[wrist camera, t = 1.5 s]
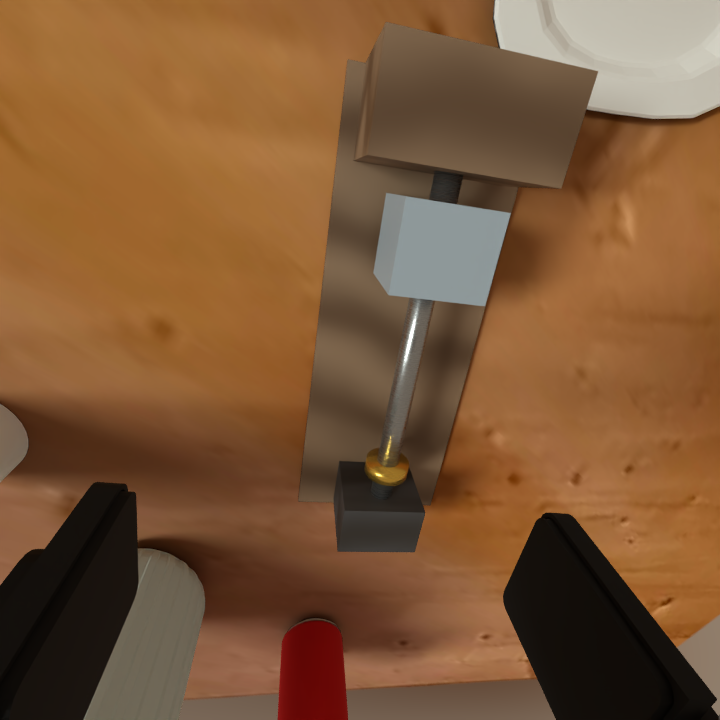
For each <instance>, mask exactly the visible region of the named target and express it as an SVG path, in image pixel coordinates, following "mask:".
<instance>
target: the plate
mask: <svg viewBox="0 0 720 720" xmlns="http://www.w3.org/2000/svg"><path fill="white" fill-rule="evenodd" d="M493 22H494V27H495V32H496V37H497V42H498V46H499V48H500V49H505V50H509V51H513V52H518V53H522V54H526V55H531V56H535V57H539V58H544V59H548V60H552V61H556V62H561V63H565V64H569V65H574V66H578V67H582V68H587V69H591V70H595V71H598V74H597V77H596V81H595V84H594V87H593V90H592V93H591V96H590V100H589V103H588V106H587V109H586V110H591V111H597V112H603V113H609V114H617V115H625V116H632V117H640V118H648V119H674V118H694V117H697V116H699V115H701V114H703V113H705V112H708V111H710V110H712V109H714V108H717V107H719V106H720V0H494V11H493Z"/></svg>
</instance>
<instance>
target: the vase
mask: <svg viewBox="0 0 720 720" xmlns="http://www.w3.org/2000/svg"><path fill="white" fill-rule="evenodd" d="M138 575H139V583H138V589H137V593H136V596H135V599H134V602H133V604H132V607H131V609H130V611H129V614H128V616H127V618H126V621H125V623H124V625H123V628H122V630H121V633H120V635H119V637H118V640H117V642H116V644H115V647H114V649H113V651H112V654H111V656H110V658H109V661H108V663H107V666H106V668H105V670H104V673H103V675H102V677H101V680H100V682H99V684H98V687H97V689H96V691H95V694H94V696H93V699H92V701H91V703H90V706H89V708H88V710H87V713H86V715H85V717H84V720H179V716H180V711H181V707H182V703H183V699H184V695H185V691H186V686H187V682H188V678H189V674H190V670H191V665H192V661H193V657H194V653H195V649H196V644H197V640H198V636H199V632H200V628H201V623H202V619H203V615H204V611H205V596H204V589H203V585H202V583H201V582H200V580H199V579H198V576H197V574H196V573H195V572H194V570H192V569H191V568H189V567H188V565H187V564H186V563H185V562H183V561H182V560H179V559H178V558H177V557H175V556H173V555H171V554H169V553H166V552H163V551H160V550H155V549H147V548H139V549H138Z"/></svg>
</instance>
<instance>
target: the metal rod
mask: <svg viewBox="0 0 720 720" xmlns="http://www.w3.org/2000/svg"><path fill="white" fill-rule="evenodd" d="M462 180H463V175H461V174H456V173H450V172H443V171H435V172H434V177H433V182H432V187H431V192H430V197H429V200H433V201H439V202H445V203H451V204H457V202H458V198H459V193H460V189H461V184H462ZM434 304H435V300H426V299H417V298H409V302H408V307H407V312H406V317H405V322H404V327H403V332H402V337H401V342H400V347H399V352H398V357H397V362H396V367H395V372H394V377H393V382H392V387H391V392H390V397H389V402H388V407H387V412H386V417H385V422H384V427H383V432H382V437H381V442H380V447H379V448H375V449H372V450H371V451H369V453H368V454H367V457H366V463H365V473H366V475H367V476H368V477H369V478H370V479H371V480H372V481H373V482H372V487H371V493H372V495H373V496H374V497H375V498H377V499H380V500H386V499H389V498H390V497H391V494H392V490H393V486H396V485H400V484H402V483H403V482H404V481H405V480H406V477H407V473H408V469H409V461H408V459H407V458H406V456H404V455H403V454H402V453H401V450H402V446H403V441H404V437H405V432H406V428H407V423H408V419H409V415H410V410H411V406H412V401H413V397H414V392H415V388H416V384H417V379H418V375H419V370H420V366H421V361H422V357H423V353H424V348H425V344H426V339H427V335H428V330H429V326H430V322H431V317H432V313H433V308H434Z"/></svg>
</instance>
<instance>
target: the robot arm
mask: <svg viewBox="0 0 720 720" xmlns="http://www.w3.org/2000/svg"><path fill="white" fill-rule="evenodd" d="M138 583H139V575H138V541H137V508H136V493H135V492H128V488H127V485H126V484H118V483H103V482H95V483H93V484H92V485H91V487H90V488H89V489H88V490H87V492H86V493H85V495H84V496H83V497H82V499H81V500H80V501H79V503H78V504H77V506H76V507H75V508H74V510H73V511H72V512H71V514H70V515H69V517H68V518H67V519H66V521H65V522H64V523H63V525H62V526H61V528H60V529H59V530H58V532H57V533H56V534H55V536H54V537H53V539H52V540H51V541H50V543H49V544H48V545H47V547H46V548H45V549H34V550H31V551H30V552H28V553H27V554H25V555H24V557H23V558H22V559H21V560H20V561H19V562H18V563H17V565H16V566H15V567H14V568H13V570H12V571H11V572H10V574H9V575H8V576H7V577H6V579H5V580H4V581H3V583H2V584H1V585H0V720H84V717H85V715H86V713H87V710H88V708H89V706H90V703H91V701H92V699H93V696H94V694H95V691H96V689H97V687H98V684H99V682H100V680H101V677H102V675H103V673H104V670H105V668H106V666H107V663H108V661H109V658H110V656H111V654H112V651H113V649H114V647H115V644H116V642H117V640H118V637H119V635H120V633H121V630H122V628H123V625H124V623H125V621H126V618H127V616H128V614H129V611H130V609H131V607H132V604H133V602H134V599H135V596H136V593H137V589H138ZM503 601H504V606H505V609H506V611H507V613H508V615H509V618H510V620H511V622H512V624H513V626H514V629H515V631H516V633H517V635H518V637H519V640H520V642H521V644H522V646H523V648H524V650H525V653H526V655H527V657H528V659H529V661H530V664H531V666H532V668H533V670H534V672H535V675H536V677H537V679H538V681H539V683H540V685H541V687H542V690H543V692H544V694H545V696H546V699H547V701H548V703H549V705H550V707H551V709H552V712H553V714H554V716H555V718H556V720H720V715H719V716H718V715H717V714H716V712H715V711H714V710H713V708H712V707H711V706H712V705H713V704H714V703H715V701H716V700H717V699H716V697H715V696H714V695H713V693H711V691H710V690H709V688H708V687H707V686H706V684H705V683H704V682H703V681H702V679H701V678H700V677H699V676H698V674H697V673H696V672H695V671H694V669H693V668H692V667H691V665H690V664H689V663H688V662H687V661H686V659H685V658H684V657H683V655H682V654H681V653H680V651H679V650H678V649H677V648H676V646H675V645H674V644H673V643H672V641H671V640H670V639H669V637H668V636H667V635H666V634H665V632H664V631H663V630H662V629H661V627H660V626H659V625H658V624H657V622H656V621H655V620H654V618H653V617H652V616H651V615H650V613H649V612H648V611H647V610H646V608H645V607H644V606H643V604H642V603H641V602H640V601H639V599H638V598H637V597H636V596H635V594H634V593H633V592H632V591H631V589H630V588H629V587H628V585H627V584H626V583H625V582H624V580H623V579H622V578H621V577H620V575H619V574H618V573H617V571H616V570H615V569H614V568H613V566H612V565H611V564H610V563H609V561H608V560H607V559H606V557H605V556H604V555H603V554H602V552H601V551H600V550H599V549H598V547H597V546H596V545H595V544H594V542H593V541H592V540H591V538H590V537H589V536H588V535H587V533H586V532H585V531H584V530H583V528H582V527H581V526H580V524H579V523H578V522H577V521H576V519H575V518H574V517H573V516H571V515H569V514H561V513H545V514H543V515H542V517H541V518H539V519H538V520H537V521H536V522H535V525H534V527H533V529H532V531H531V533H530V536H529V538H528V540H527V542H526V544H525V547H524V549H523V551H522V553H521V555H520V558H519V560H518V562H517V564H516V566H515V569H514V571H513V573H512V575H511V577H510V580H509V582H508V584H507V586H506V588H505V591H504V594H503Z"/></svg>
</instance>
